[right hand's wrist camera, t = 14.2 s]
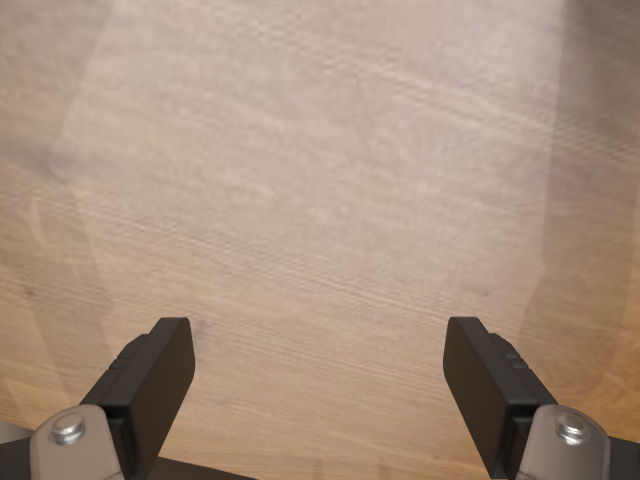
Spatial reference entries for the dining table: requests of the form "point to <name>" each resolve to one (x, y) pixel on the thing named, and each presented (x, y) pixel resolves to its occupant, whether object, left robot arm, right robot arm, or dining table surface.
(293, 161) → the dining table surface
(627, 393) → the dining table surface
